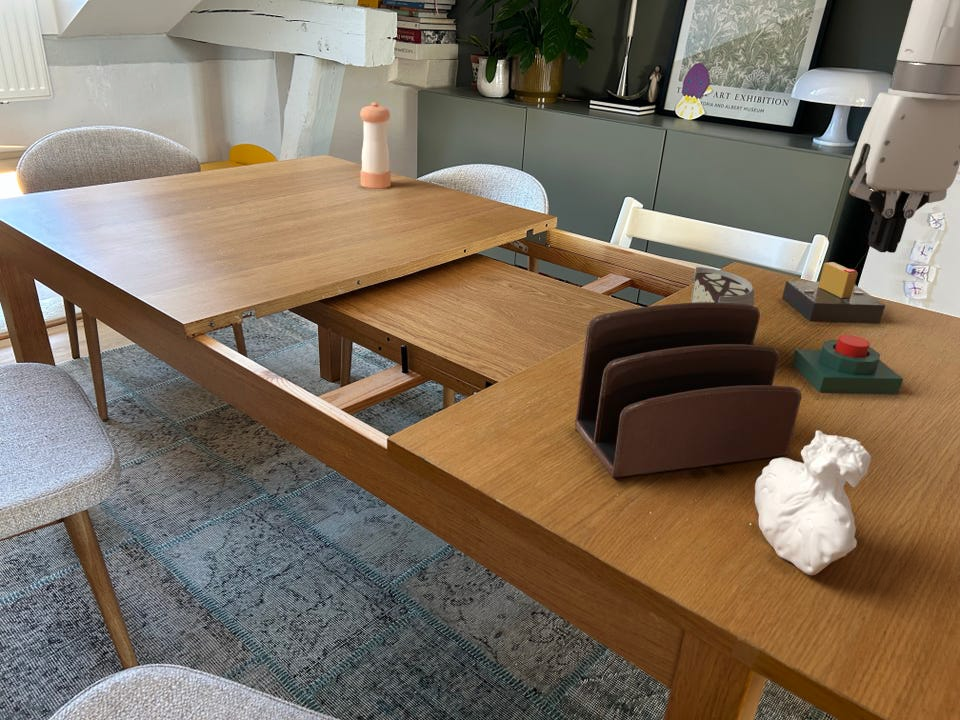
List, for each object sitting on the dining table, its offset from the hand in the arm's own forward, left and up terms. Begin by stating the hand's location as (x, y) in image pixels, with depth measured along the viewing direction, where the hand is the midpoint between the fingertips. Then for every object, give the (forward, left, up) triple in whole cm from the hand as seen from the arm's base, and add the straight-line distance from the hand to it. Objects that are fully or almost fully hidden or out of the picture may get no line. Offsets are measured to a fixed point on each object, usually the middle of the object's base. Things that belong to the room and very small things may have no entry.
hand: (881, 248), depth 86 cm
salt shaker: (+67, -100, -17) cm, 122 cm away
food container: (+14, -7, -17) cm, 23 cm away
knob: (-10, -24, -14) cm, 30 cm away
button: (0, 0, -13) cm, 13 cm away
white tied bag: (+20, +32, -17) cm, 41 cm away
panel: (-10, -24, -17) cm, 31 cm away
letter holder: (+26, +16, -17) cm, 35 cm away
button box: (0, 0, -17) cm, 17 cm away
